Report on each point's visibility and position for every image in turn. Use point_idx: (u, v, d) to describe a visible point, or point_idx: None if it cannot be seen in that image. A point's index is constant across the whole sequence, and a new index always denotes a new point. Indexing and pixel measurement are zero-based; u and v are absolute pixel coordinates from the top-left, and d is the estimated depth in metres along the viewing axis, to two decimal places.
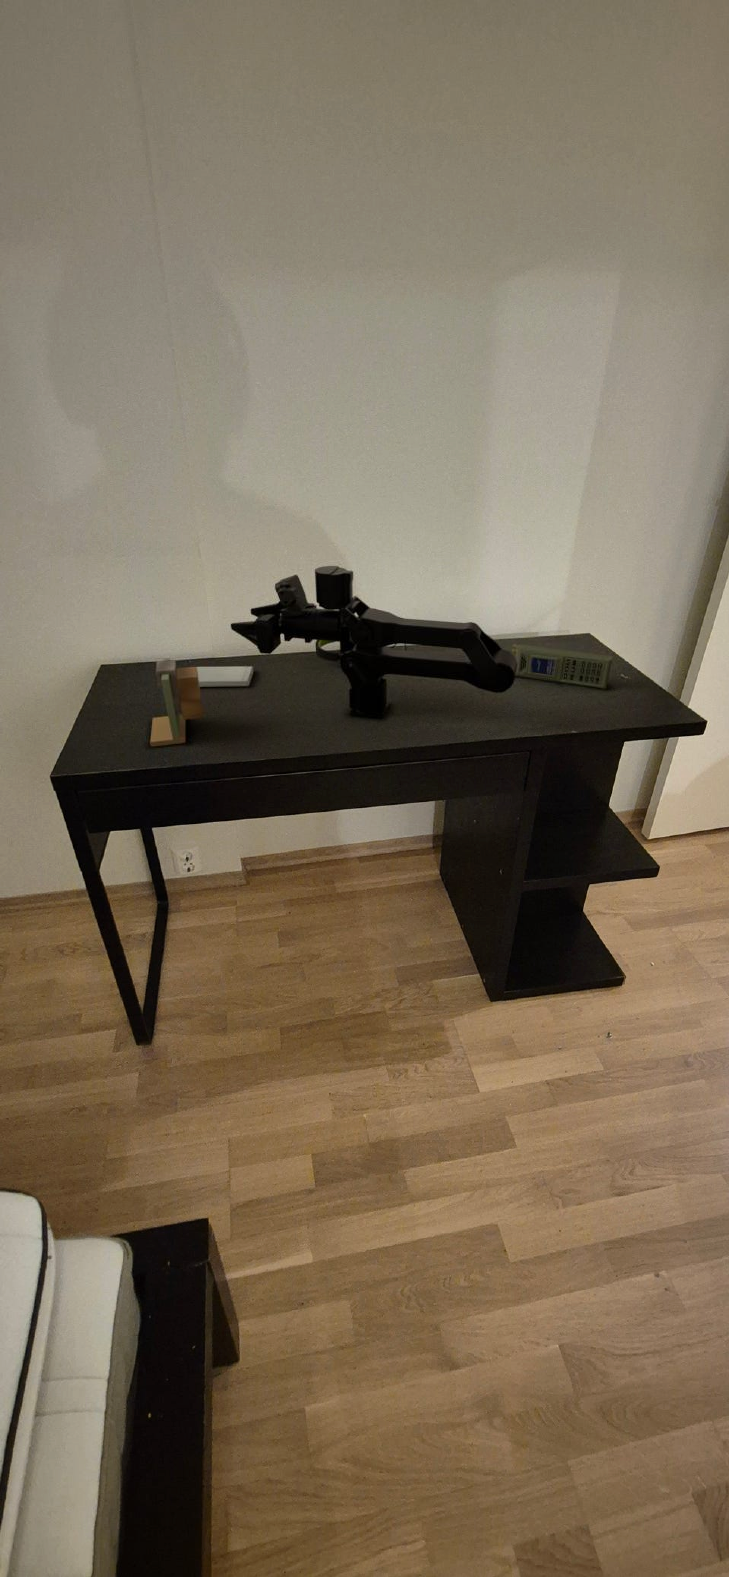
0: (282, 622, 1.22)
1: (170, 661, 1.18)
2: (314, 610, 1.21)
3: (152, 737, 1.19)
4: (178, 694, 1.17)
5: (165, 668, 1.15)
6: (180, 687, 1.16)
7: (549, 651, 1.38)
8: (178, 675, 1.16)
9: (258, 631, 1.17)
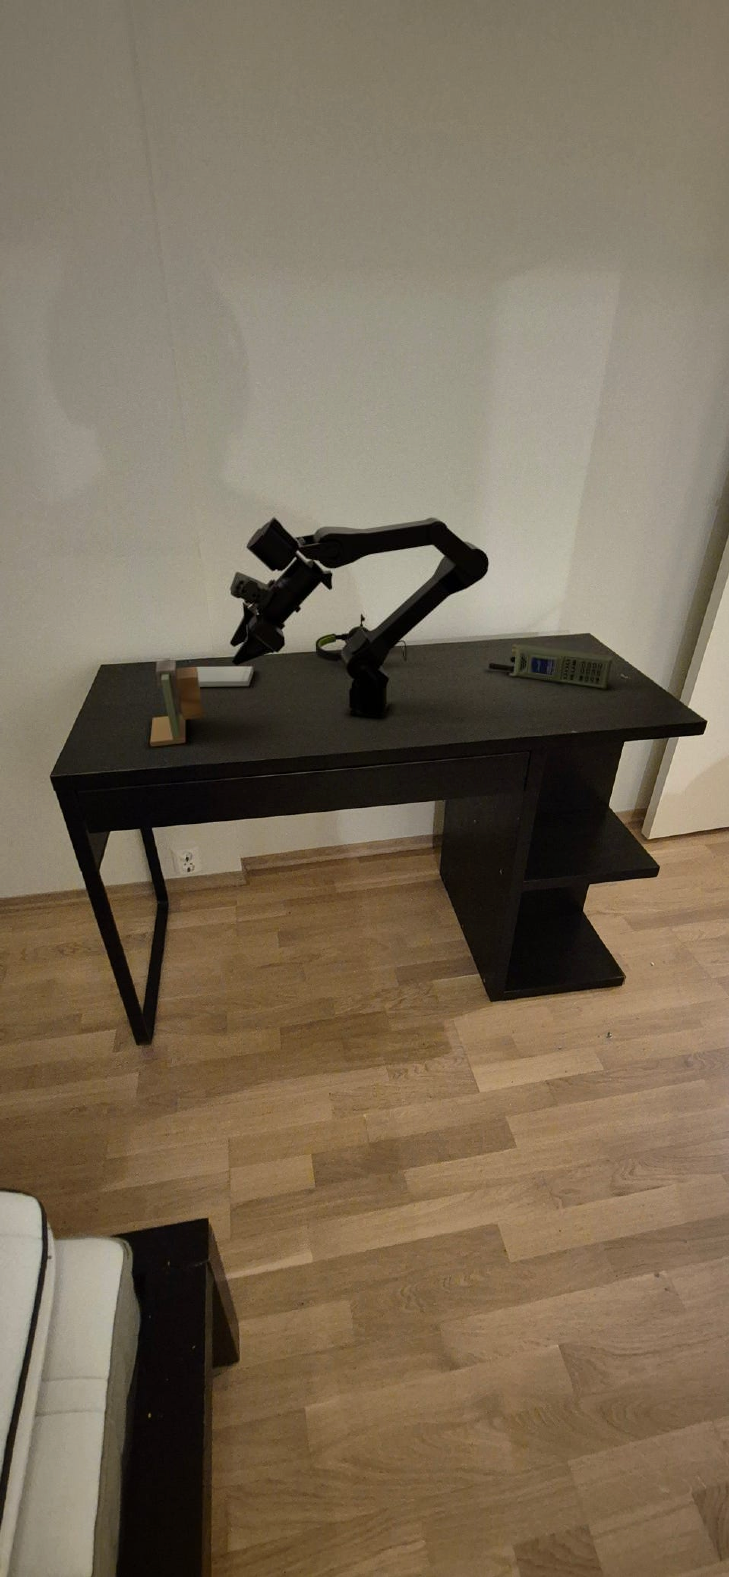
0: (265, 616, 1.13)
1: (170, 661, 1.18)
2: (278, 581, 1.12)
3: (152, 737, 1.19)
4: (178, 694, 1.17)
5: (165, 668, 1.15)
6: (180, 687, 1.16)
7: (549, 651, 1.38)
8: (178, 675, 1.16)
9: (259, 636, 1.08)
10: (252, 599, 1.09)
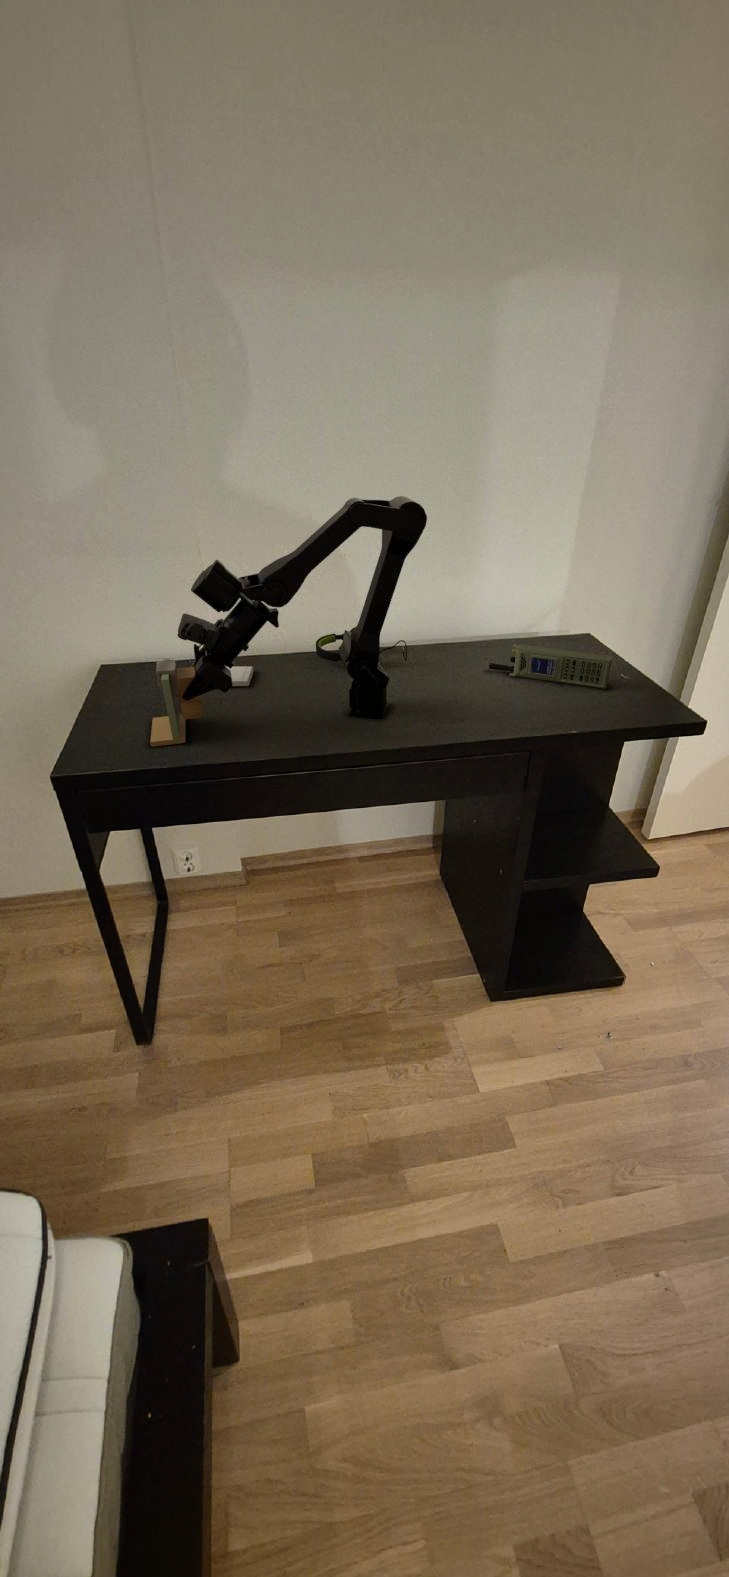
0: (214, 656, 1.14)
1: (170, 661, 1.17)
2: (224, 621, 1.14)
3: (152, 737, 1.19)
4: (178, 694, 1.17)
5: (165, 668, 1.15)
6: (180, 687, 1.16)
7: (549, 651, 1.38)
8: (178, 675, 1.16)
9: (206, 678, 1.09)
10: (198, 641, 1.11)
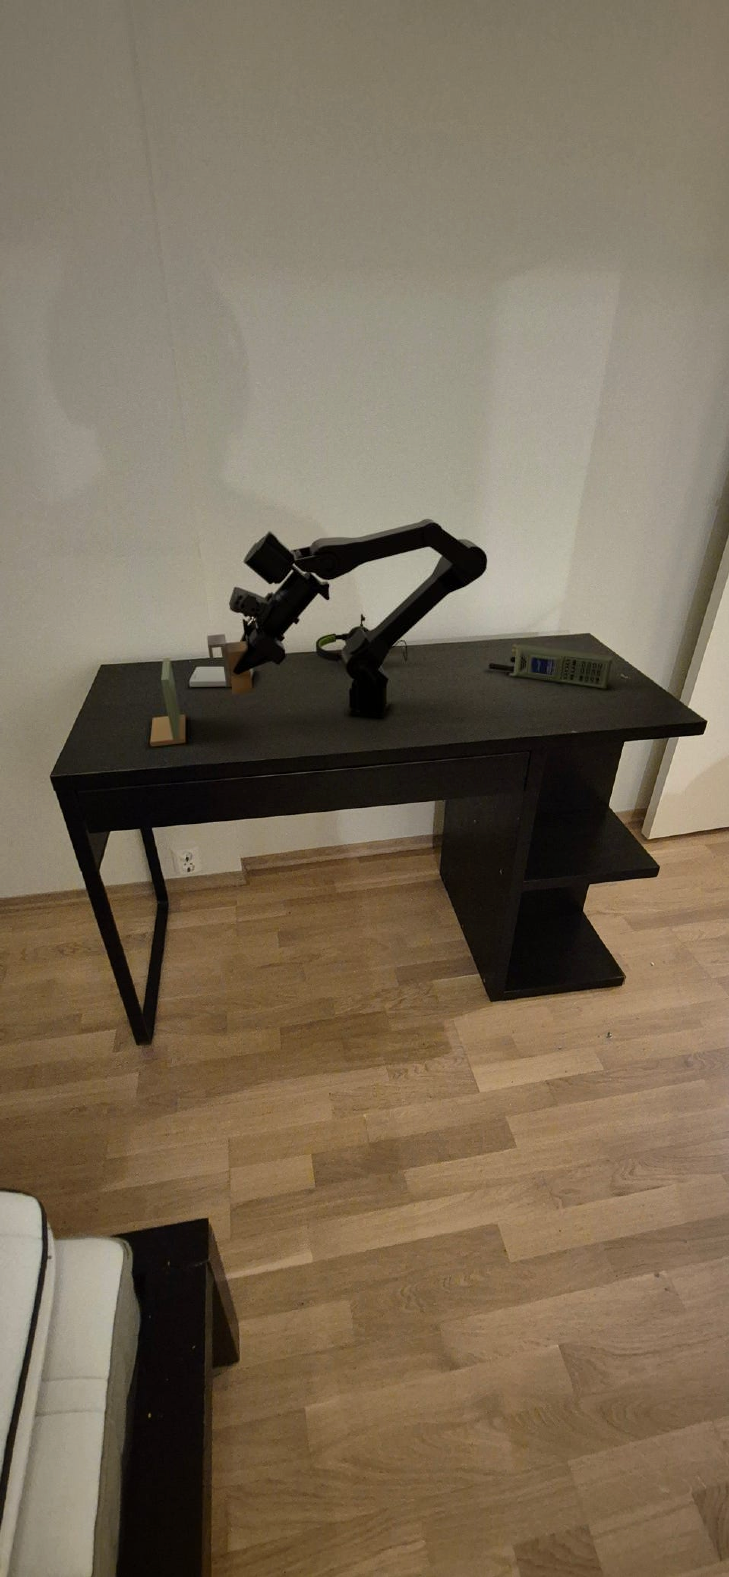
0: (265, 629, 1.14)
1: (220, 635, 1.18)
2: (276, 594, 1.14)
3: (152, 737, 1.19)
4: (229, 668, 1.17)
5: (216, 641, 1.15)
6: (231, 661, 1.16)
7: (549, 651, 1.38)
8: (228, 649, 1.16)
9: (260, 650, 1.09)
10: (251, 613, 1.11)
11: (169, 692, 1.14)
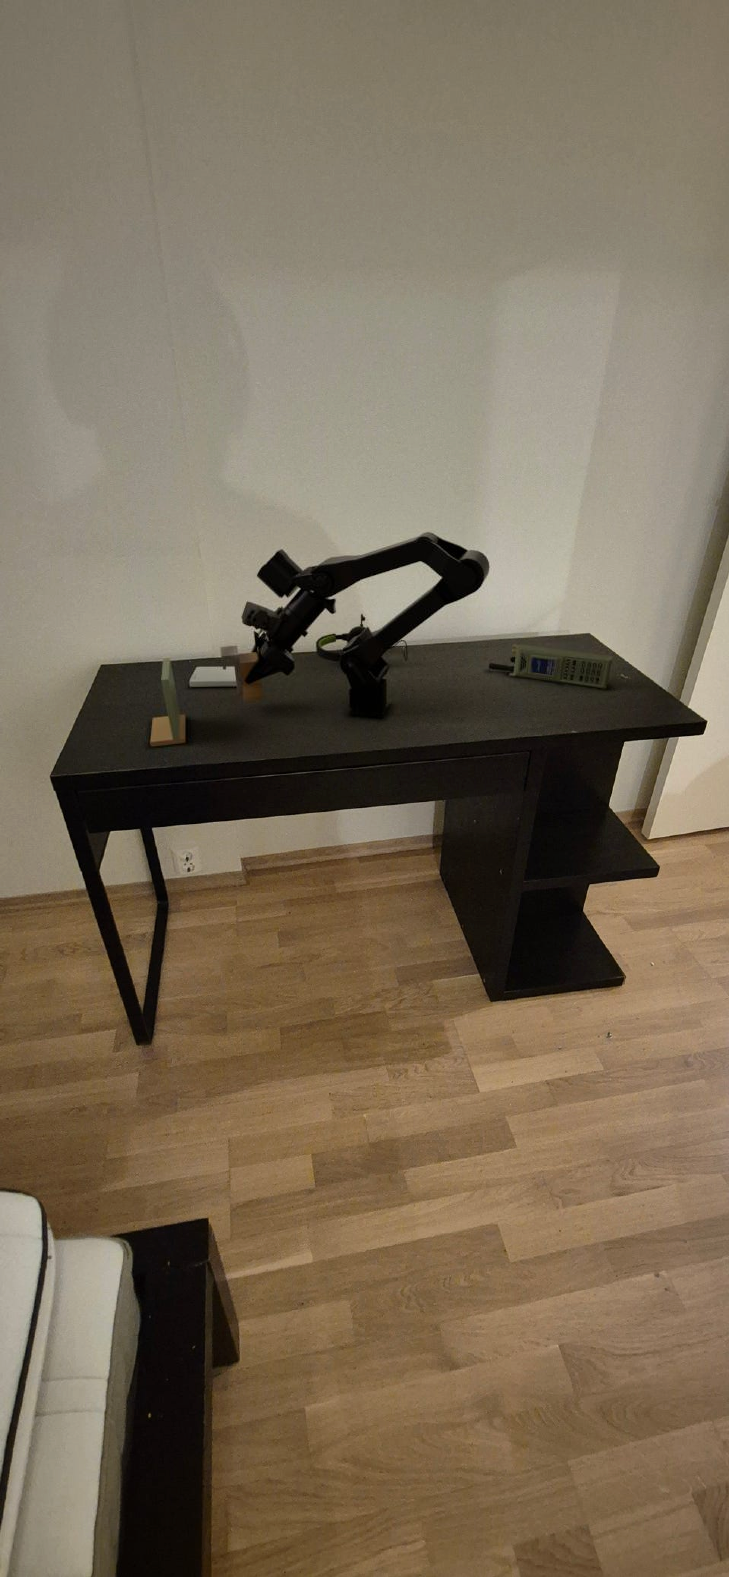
0: (275, 642, 1.21)
1: (233, 647, 1.25)
2: (285, 608, 1.21)
3: (152, 737, 1.19)
4: (241, 678, 1.24)
5: (229, 653, 1.22)
6: (243, 671, 1.23)
7: (549, 651, 1.37)
8: (240, 659, 1.24)
9: (270, 661, 1.16)
10: (263, 627, 1.18)
11: (169, 692, 1.14)
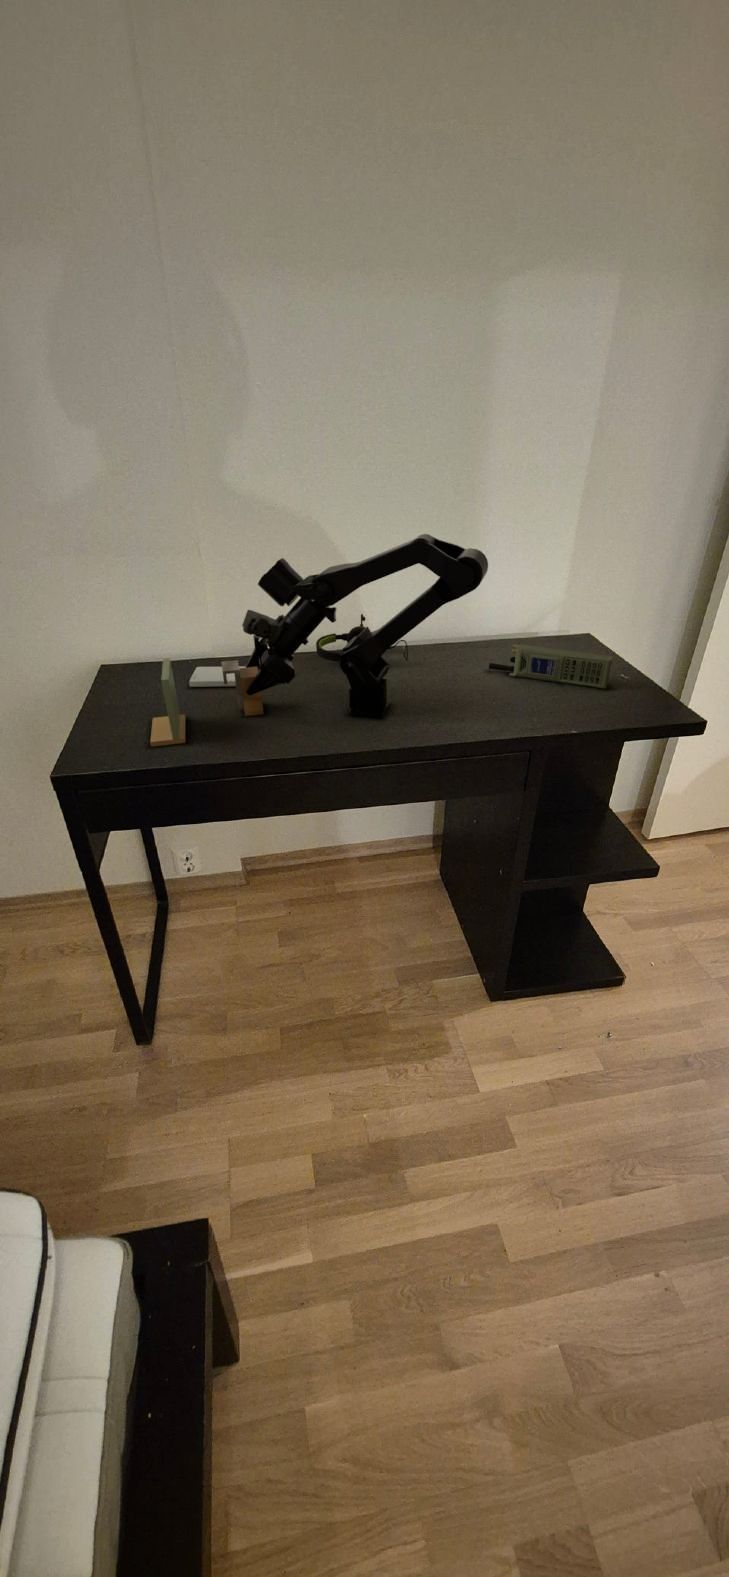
0: (276, 650, 1.22)
1: (234, 661, 1.26)
2: (286, 617, 1.22)
3: (152, 737, 1.19)
4: (242, 692, 1.25)
5: (230, 668, 1.24)
6: (244, 686, 1.25)
7: (549, 651, 1.37)
8: (241, 674, 1.25)
9: (271, 669, 1.17)
10: (263, 635, 1.19)
11: (169, 692, 1.14)
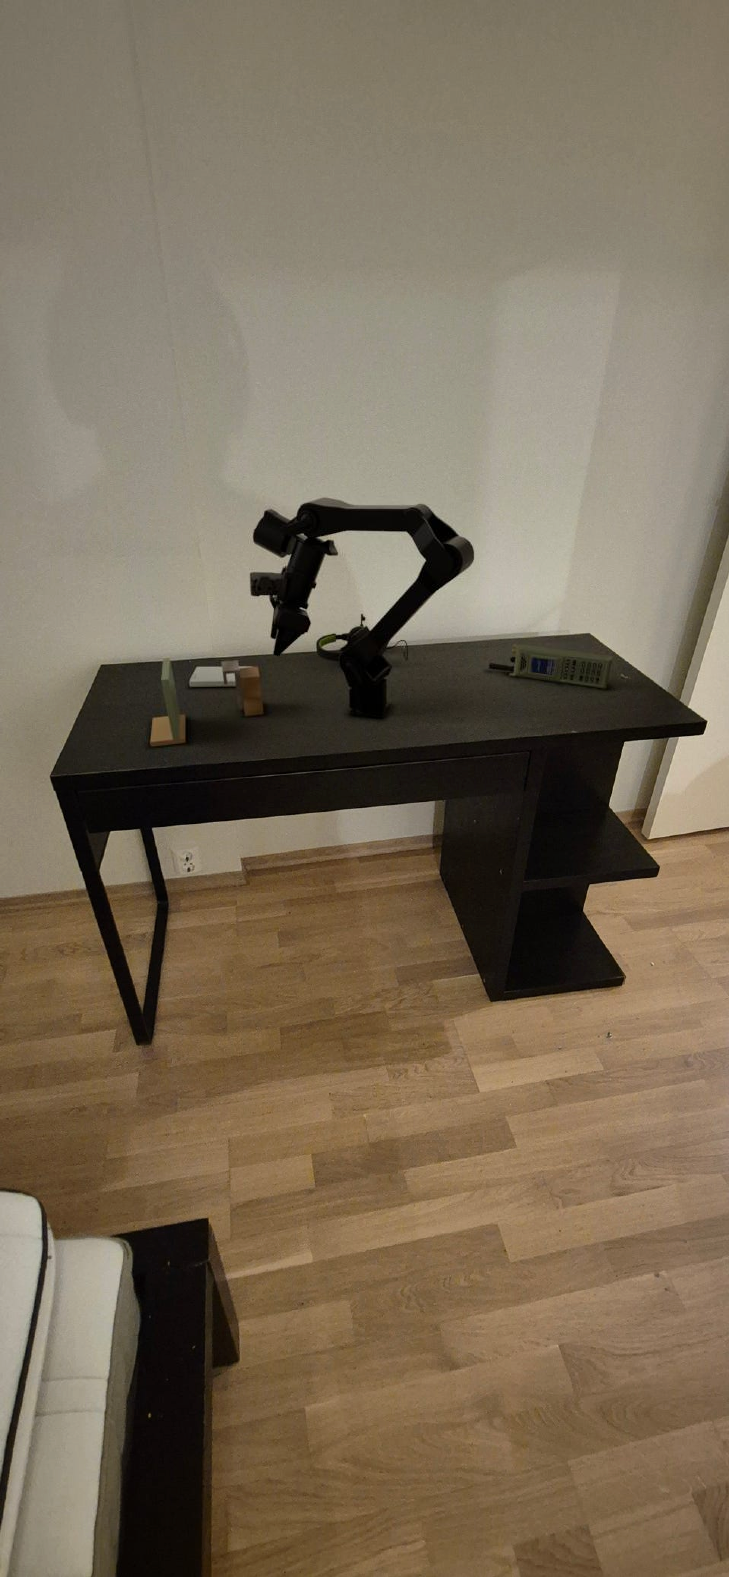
0: (288, 603, 1.20)
1: (234, 661, 1.26)
2: (287, 566, 1.19)
3: (152, 737, 1.19)
4: (242, 692, 1.25)
5: (230, 668, 1.24)
6: (244, 686, 1.25)
7: (549, 651, 1.37)
8: (241, 674, 1.25)
9: (285, 624, 1.15)
10: (269, 592, 1.17)
11: (169, 692, 1.14)
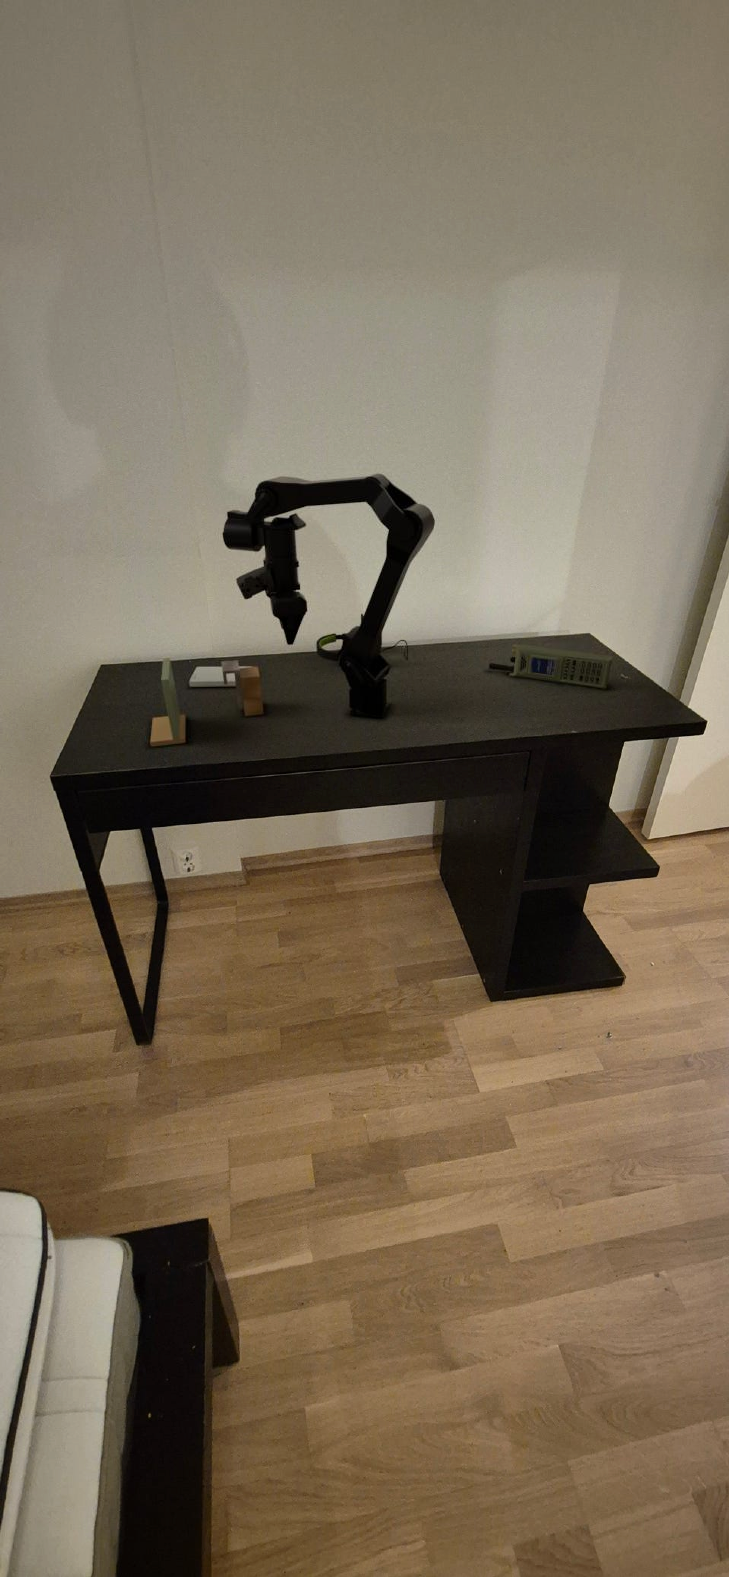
0: (280, 591, 1.21)
1: (234, 661, 1.26)
2: (266, 557, 1.19)
3: (152, 737, 1.19)
4: (242, 692, 1.25)
5: (230, 668, 1.24)
6: (244, 686, 1.25)
7: (549, 651, 1.37)
8: (241, 674, 1.25)
9: (283, 613, 1.16)
10: (259, 589, 1.18)
11: (169, 692, 1.14)
